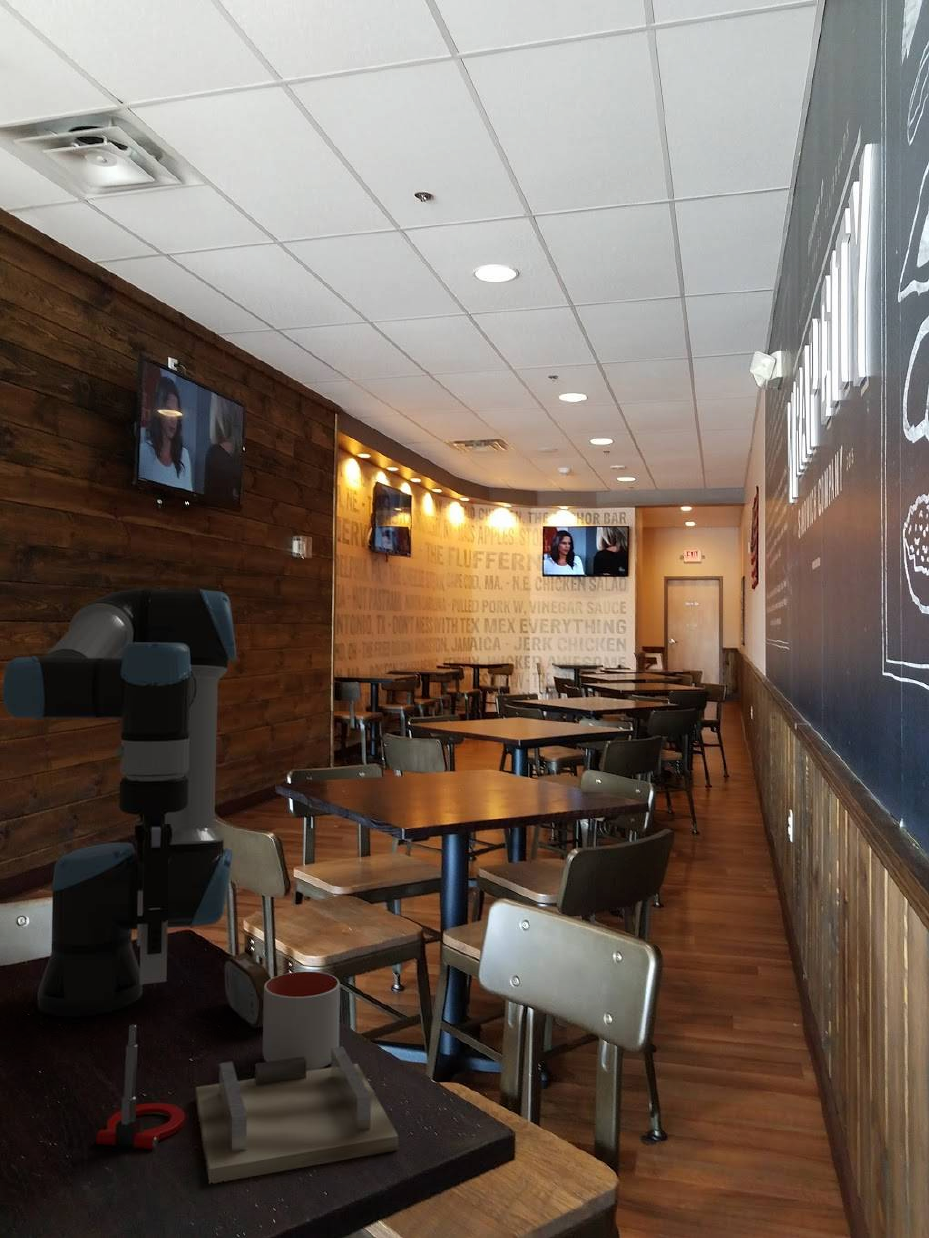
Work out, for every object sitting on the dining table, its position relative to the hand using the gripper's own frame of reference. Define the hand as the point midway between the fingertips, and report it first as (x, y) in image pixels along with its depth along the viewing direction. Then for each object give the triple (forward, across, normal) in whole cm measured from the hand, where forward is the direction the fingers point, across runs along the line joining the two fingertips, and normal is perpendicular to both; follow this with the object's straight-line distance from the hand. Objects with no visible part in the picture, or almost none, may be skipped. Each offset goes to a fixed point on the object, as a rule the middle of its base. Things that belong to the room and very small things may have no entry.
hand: (150, 962), depth 107 cm
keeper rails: (+17, +4, +16) cm, 23 cm away
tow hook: (+19, 0, 0) cm, 19 cm away
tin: (+19, -29, +15) cm, 37 cm away
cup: (+19, -12, +20) cm, 30 cm away
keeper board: (+19, +5, +16) cm, 25 cm away
